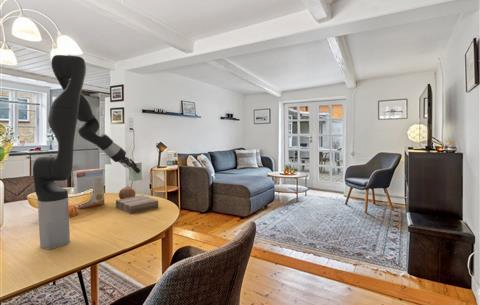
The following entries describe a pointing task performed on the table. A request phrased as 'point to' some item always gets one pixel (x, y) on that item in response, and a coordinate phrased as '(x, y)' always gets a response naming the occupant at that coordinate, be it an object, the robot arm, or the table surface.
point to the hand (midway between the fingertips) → (136, 171)
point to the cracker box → (90, 185)
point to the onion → (126, 193)
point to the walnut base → (136, 204)
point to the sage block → (134, 175)
